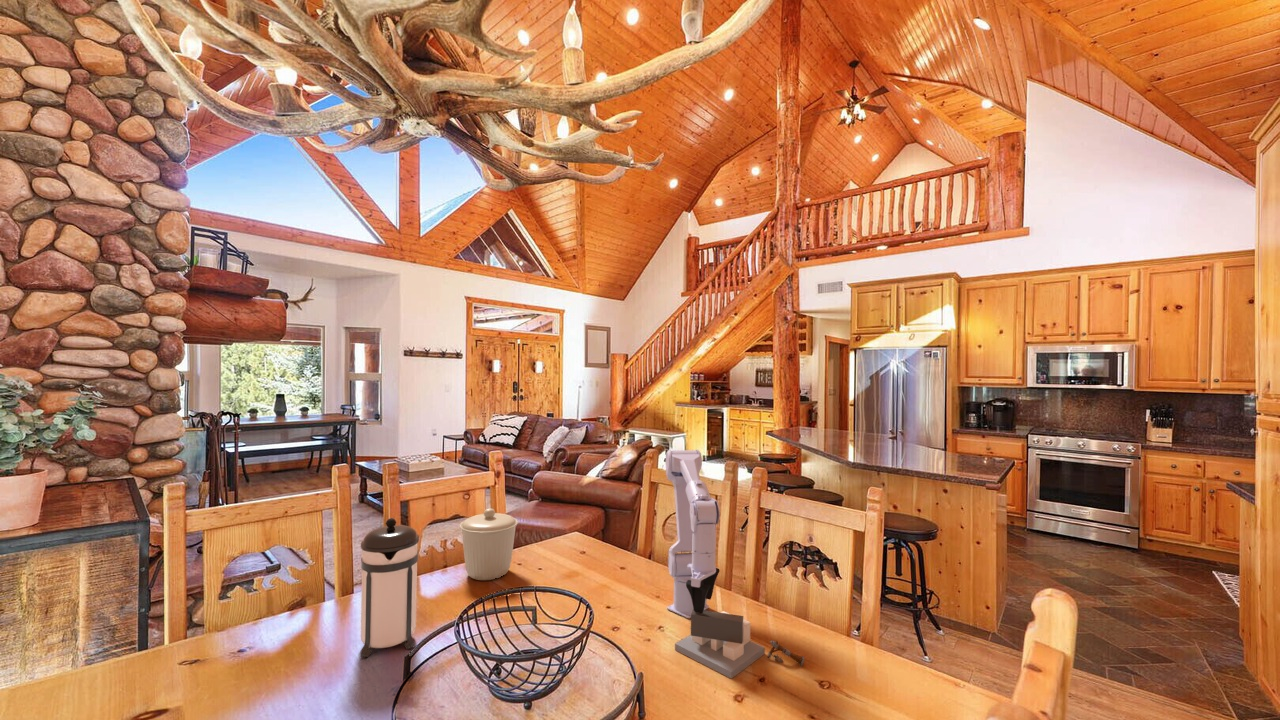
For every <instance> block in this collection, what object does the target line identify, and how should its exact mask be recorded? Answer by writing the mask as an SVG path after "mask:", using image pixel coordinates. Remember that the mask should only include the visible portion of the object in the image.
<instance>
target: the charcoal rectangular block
mask: <svg viewBox="0 0 1280 720" xmlns="http://www.w3.org/2000/svg"><path fill="white" fill-rule="evenodd" d="M743 619H744V615H738V614H732V613H729V614H726V613H720V612H718V611H712V610H711V611H710V610H707V609H706V610H704V611H703V613H699V612H694V609H693V611H692V613H691V618H690V635H691V636H697V637H703V638H709V639H715V640H722V641H728V642H734V643H740V644H742V641H743Z"/></svg>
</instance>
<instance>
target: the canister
mask: <svg viewBox="0 0 1280 720" xmlns="http://www.w3.org/2000/svg"><path fill="white" fill-rule="evenodd" d="M518 524H519V521H518V519H517V518H515V517H513V516H512V515H510V514H507V513H499V512H496V511H495V509H494V508H492V507H490V508H486V509H485V510H484V511H483V513H480V514H476V515H472V516H470V517H468V518H466V519H465V520H463V521H461V522H460V523H459V529H460V530H461V535H462V536H461V538H462V547H463V558H464V566H465V571H466V574H467V576H468V577H470V578H471V579H473V580H477V581H491V580H496V579H495V578H497V579H499V578H501V576H502V577H503V575H504V576H506V574H507V573H508V571H509V570H510V568H511V563H512V557H513V552H514V551H513V550H514V542H515V535H516V527H517V526H518Z"/></svg>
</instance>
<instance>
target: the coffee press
mask: <svg viewBox="0 0 1280 720" xmlns="http://www.w3.org/2000/svg"><path fill="white" fill-rule="evenodd" d="M419 542H420V535H419V534H418V532H417V531H416V530H415V528H413V527H411V526H408V525H402V524H397V520H396V519H395V518H392V517H389V518H388V519H387V520H386V522H385V526H381V527H378V528H375V529H373V530H371V531H369V532H367V534H366V535H365V536H364V538H363V540H362V541H361V542H360V549H361V553H362V554H361V559H360V568H361V601H360V603H361V605H360V606H361V607H360V609H361V610H360V640H361V642H362V644H364V645H363V647H362V650H361V652H360V657H361V658H364V659H367V658H369V657H370V656H371V653H372V652H373V651H374V650H375V649H385V648H391V647H394V646H398V645H399V644H402V645H403V646H404V647H405V649H406V650H408V651H409V650H411V649H413V648H414V647H415V646H416V643H415V640H414V639H413V635H414V633H415V631H416V628H417V593H418V591H417V588H418V584H417V583H418V579H417V578H418V561H419V550H418V544H419ZM413 646H414V647H413Z"/></svg>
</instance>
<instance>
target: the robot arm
mask: <svg viewBox="0 0 1280 720" xmlns="http://www.w3.org/2000/svg"><path fill="white" fill-rule="evenodd" d="M702 457H703V455H702V453H701V451H700V450H699V449H693V450H690V449H689V450H688V449H684V450H682V449H681V450H676V449H675V450H671V449H668V450H667V451H666V453H665V475H666V479H667V481H670V482H672V486H673V489H674V490H673V492H674V502H675V503H674V505H675V506H674V507H675V521H676V523H675V524H676V532H677V533H676V535H677V538H676V539H677V541H675V542H674V544H672V545H671V546H670V547H669V550H668V559H667V564H668V565H667V566H668V567H667V568H668V573H669V575H670V576H671V578H673V603H672V604H670V605H668V606H666V609H667V610H669V611H671V612H673V613H675V614H677V615H679V616H682V617H684V618H686V619H691V613H692V611H693V609H694V612H699V613H703V611H704V610H706V611H707V610H708V609H709V608H710V605H708V602H707V601H708V600H712V598H713V593H714V587H715V583H716V580H717V577H718V575H719V573H720V569H719V568H718V567H716V549H717V547H716V546H717V545H716V543H717V542H716V539H717V538H716V537H717V536H716V535H717V534H716V533H717V525H718V524H719V522H720V506H719V504H718V500H717V499H715V498H714V497H712V496H711V495H710V492H709V488H708V485H707V484H706V483H705V481H703V480H701V476H700V472H701V469H702V465H703V458H702Z"/></svg>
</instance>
